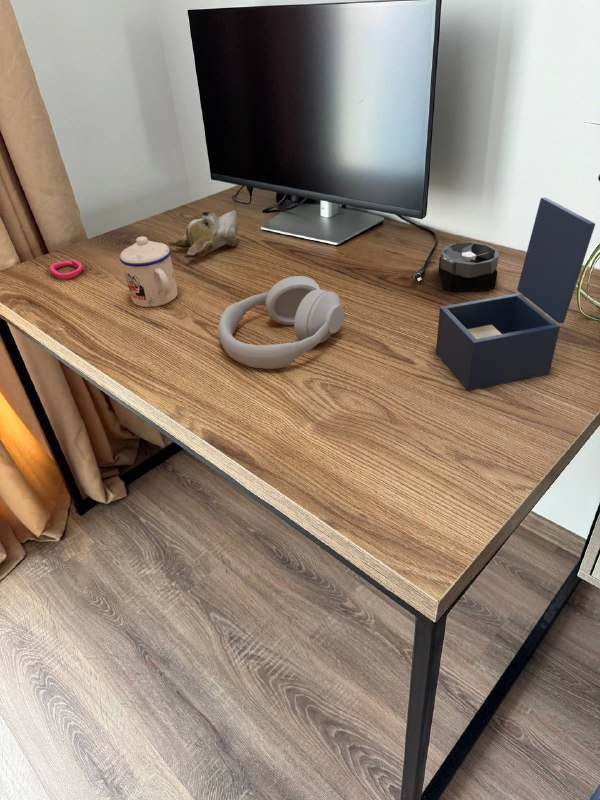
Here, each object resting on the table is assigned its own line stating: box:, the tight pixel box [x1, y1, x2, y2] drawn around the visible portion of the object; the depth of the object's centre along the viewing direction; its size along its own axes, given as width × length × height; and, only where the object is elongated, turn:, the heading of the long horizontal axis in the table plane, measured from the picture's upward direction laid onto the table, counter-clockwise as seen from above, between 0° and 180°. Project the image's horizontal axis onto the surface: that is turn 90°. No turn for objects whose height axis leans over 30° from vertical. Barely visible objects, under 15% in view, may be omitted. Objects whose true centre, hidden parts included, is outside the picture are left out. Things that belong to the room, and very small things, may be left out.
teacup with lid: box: [119, 236, 178, 308], centre depth 107 cm, size 12×9×12 cm
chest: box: [435, 292, 561, 391], centre depth 84 cm, size 13×11×8 cm
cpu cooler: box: [438, 241, 499, 292], centre depth 107 cm, size 10×6×10 cm
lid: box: [516, 197, 596, 324], centre depth 79 cm, size 14×11×1 cm
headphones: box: [217, 275, 345, 370], centre depth 94 cm, size 18×8×20 cm
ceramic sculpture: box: [167, 209, 239, 259], centre depth 125 cm, size 11×9×15 cm
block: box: [467, 325, 501, 339], centre depth 84 cm, size 4×4×4 cm
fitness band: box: [49, 258, 85, 281], centre depth 123 cm, size 8×6×2 cm
